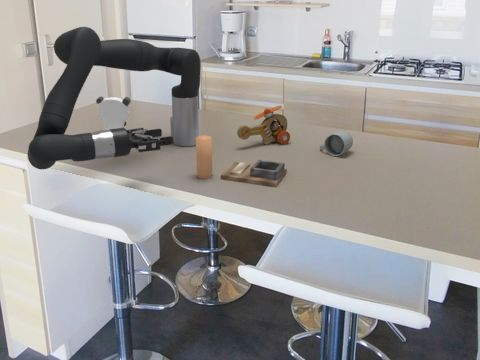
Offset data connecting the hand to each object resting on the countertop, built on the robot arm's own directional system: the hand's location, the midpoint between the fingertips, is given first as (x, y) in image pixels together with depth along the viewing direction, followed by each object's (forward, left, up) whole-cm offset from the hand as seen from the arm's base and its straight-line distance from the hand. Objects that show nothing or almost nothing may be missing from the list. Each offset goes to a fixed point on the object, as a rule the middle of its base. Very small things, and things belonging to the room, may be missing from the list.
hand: (166, 136), depth 136 cm
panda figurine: (-39, +32, -14) cm, 52 cm away
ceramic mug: (+40, +45, -14) cm, 62 cm away
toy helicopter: (+15, +45, -14) cm, 49 cm away
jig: (+21, +14, -14) cm, 29 cm away
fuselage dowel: (+7, +9, -14) cm, 18 cm away
